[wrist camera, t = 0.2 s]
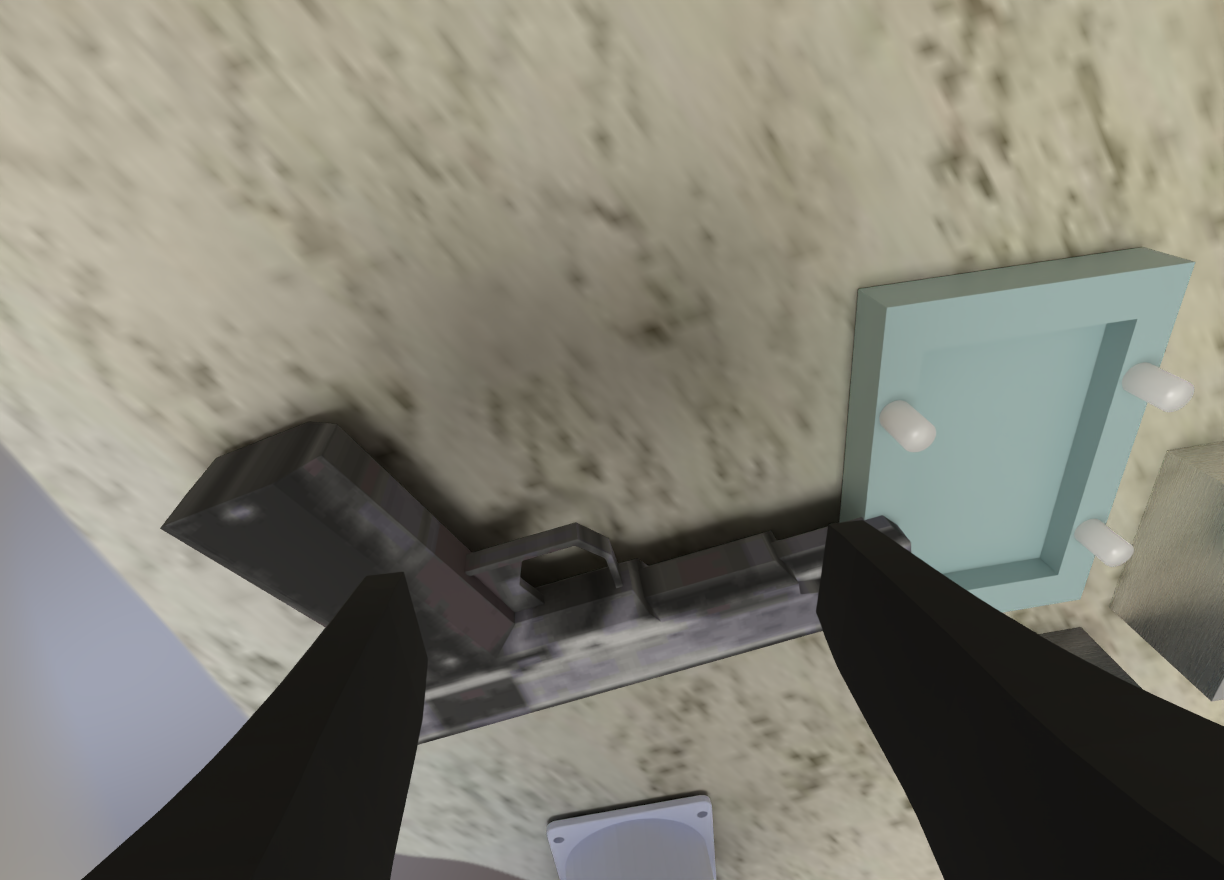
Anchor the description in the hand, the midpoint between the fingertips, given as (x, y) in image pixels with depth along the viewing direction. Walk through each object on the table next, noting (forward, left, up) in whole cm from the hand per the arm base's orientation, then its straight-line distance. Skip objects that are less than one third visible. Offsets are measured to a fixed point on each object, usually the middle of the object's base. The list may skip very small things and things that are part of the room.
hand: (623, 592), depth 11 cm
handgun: (-5, +1, -10) cm, 11 cm away
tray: (-5, -13, -10) cm, 17 cm away
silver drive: (-11, -23, -10) cm, 27 cm away
